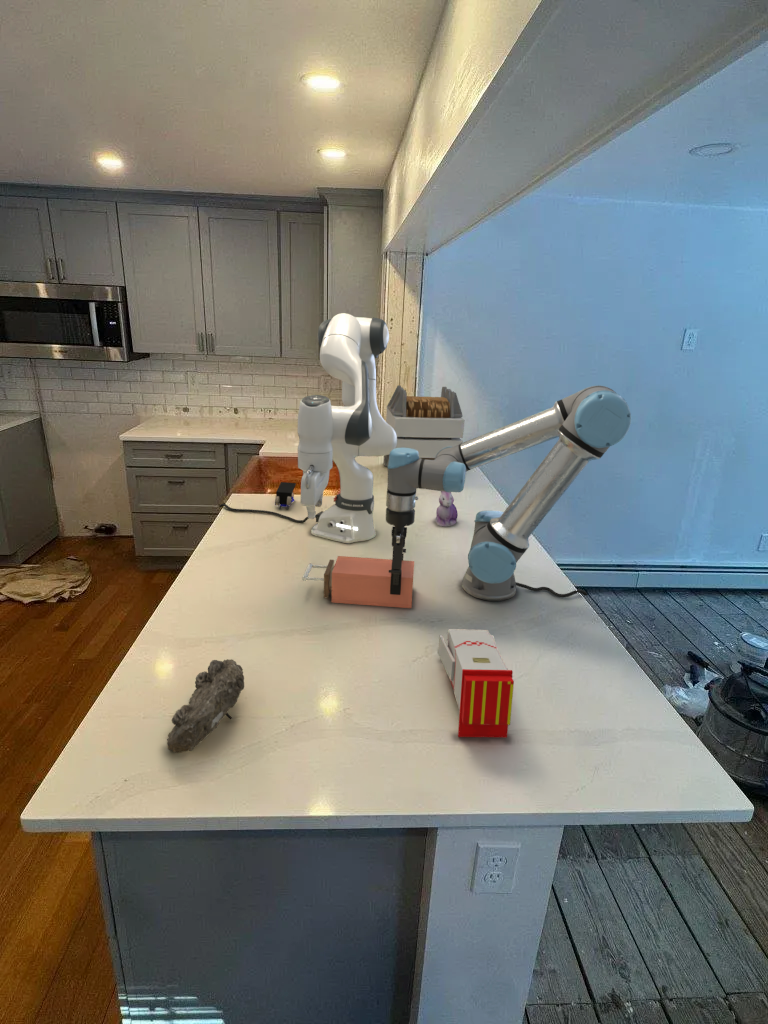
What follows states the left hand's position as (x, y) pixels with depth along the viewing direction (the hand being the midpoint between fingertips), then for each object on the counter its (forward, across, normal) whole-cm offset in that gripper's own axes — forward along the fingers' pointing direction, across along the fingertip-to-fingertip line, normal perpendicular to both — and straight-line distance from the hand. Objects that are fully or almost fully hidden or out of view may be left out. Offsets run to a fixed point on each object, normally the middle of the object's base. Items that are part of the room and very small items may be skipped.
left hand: (315, 511), depth 149 cm
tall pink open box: (+24, 0, -16) cm, 29 cm away
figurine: (+23, +61, -38) cm, 75 cm away
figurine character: (+23, +69, +25) cm, 77 cm away
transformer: (+23, +127, -27) cm, 132 cm away
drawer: (+23, 0, -10) cm, 25 cm away
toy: (+24, -39, -40) cm, 61 cm away
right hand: (+19, 0, -22) cm, 30 cm away
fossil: (+24, -53, +10) cm, 59 cm away
